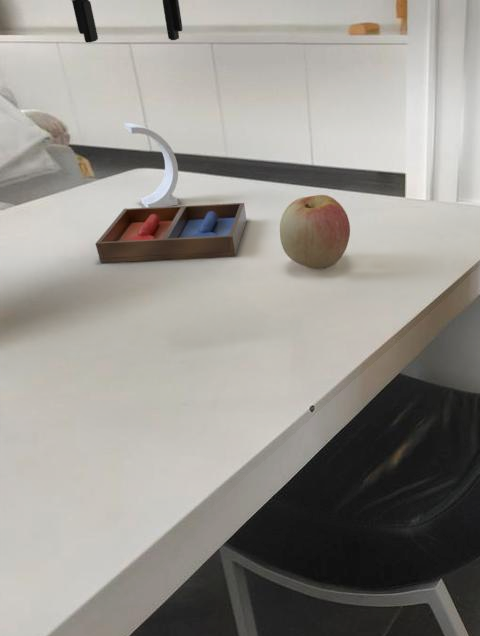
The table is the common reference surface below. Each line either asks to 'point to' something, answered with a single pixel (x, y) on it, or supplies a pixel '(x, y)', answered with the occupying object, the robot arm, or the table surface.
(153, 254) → the tray
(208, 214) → the blue spoon
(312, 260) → the apple
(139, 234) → the red spoon
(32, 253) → the table surface
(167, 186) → the headphone stand
